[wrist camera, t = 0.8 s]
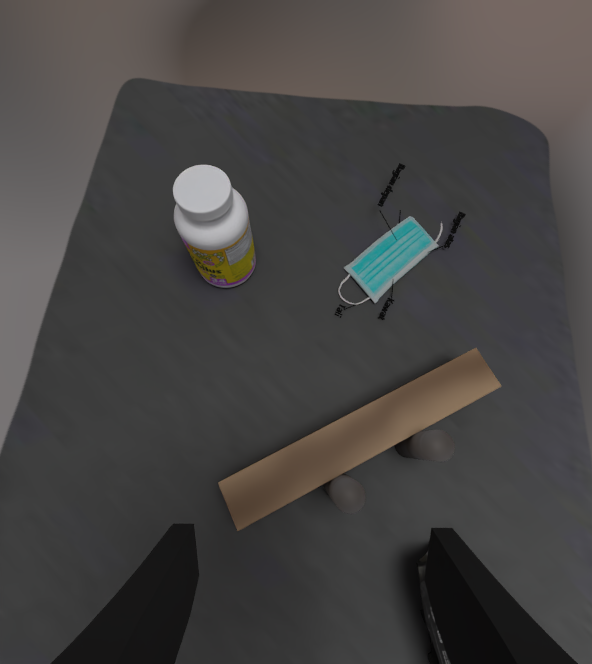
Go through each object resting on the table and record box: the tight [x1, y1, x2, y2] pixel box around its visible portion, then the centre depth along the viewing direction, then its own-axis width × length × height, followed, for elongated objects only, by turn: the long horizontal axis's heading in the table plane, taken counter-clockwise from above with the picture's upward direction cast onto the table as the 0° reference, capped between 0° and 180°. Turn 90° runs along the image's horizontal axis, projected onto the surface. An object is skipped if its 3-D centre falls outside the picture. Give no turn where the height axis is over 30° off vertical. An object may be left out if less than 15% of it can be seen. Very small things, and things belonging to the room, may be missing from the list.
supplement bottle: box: [173, 165, 256, 288], centre depth 35 cm, size 7×7×13 cm
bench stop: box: [218, 348, 501, 531], centre depth 31 cm, size 6×26×8 cm, turn 116°
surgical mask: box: [335, 163, 466, 320], centre depth 40 cm, size 21×4×10 cm
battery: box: [417, 551, 450, 664], centre depth 28 cm, size 12×8×7 cm
